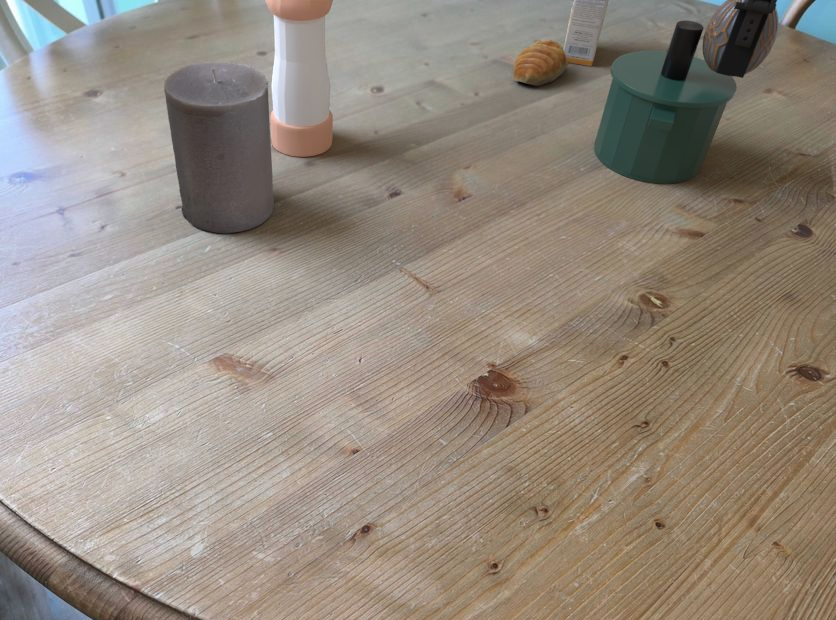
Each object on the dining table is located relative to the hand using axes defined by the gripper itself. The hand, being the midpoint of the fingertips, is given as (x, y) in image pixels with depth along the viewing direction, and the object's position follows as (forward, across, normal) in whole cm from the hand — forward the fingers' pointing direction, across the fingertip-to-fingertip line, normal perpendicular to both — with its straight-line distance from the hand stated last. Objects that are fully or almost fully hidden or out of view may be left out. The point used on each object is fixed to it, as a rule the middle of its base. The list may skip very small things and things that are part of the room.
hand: (731, 60), depth 81 cm
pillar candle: (+13, +31, -45) cm, 56 cm away
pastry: (+13, -17, -22) cm, 31 cm away
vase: (+1, 0, 0) cm, 1 cm away
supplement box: (+13, -27, -18) cm, 35 cm away
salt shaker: (+13, +15, -44) cm, 48 cm away
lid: (+3, 0, -5) cm, 6 cm away
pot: (+13, 0, -5) cm, 14 cm away
